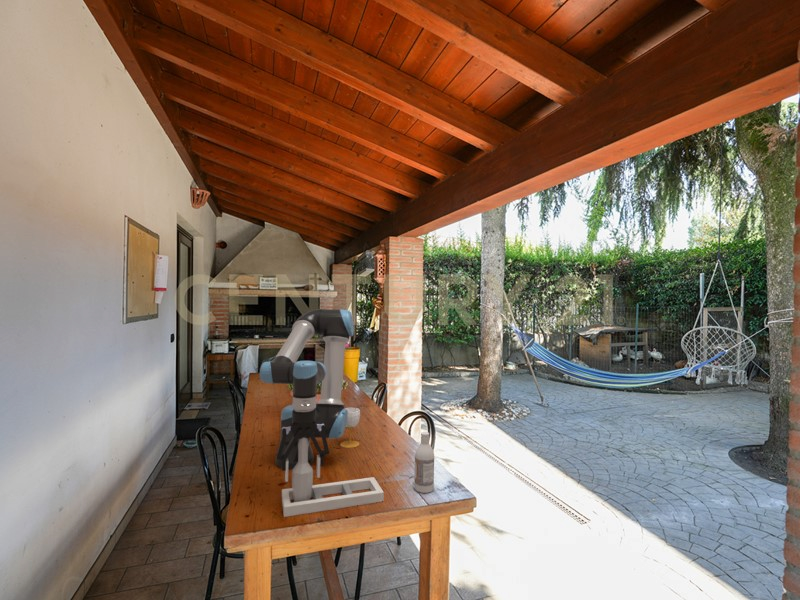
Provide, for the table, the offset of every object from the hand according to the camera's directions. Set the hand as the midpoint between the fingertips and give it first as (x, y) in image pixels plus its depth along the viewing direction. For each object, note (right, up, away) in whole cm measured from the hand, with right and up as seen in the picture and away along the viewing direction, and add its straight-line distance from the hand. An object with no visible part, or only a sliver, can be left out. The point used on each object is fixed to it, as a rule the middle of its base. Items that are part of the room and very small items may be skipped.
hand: (302, 477), depth 127 cm
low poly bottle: (0, -9, 0) cm, 9 cm away
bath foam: (+40, -10, +13) cm, 43 cm away
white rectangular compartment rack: (+9, -9, +3) cm, 13 cm away
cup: (+8, -10, +55) cm, 56 cm away
